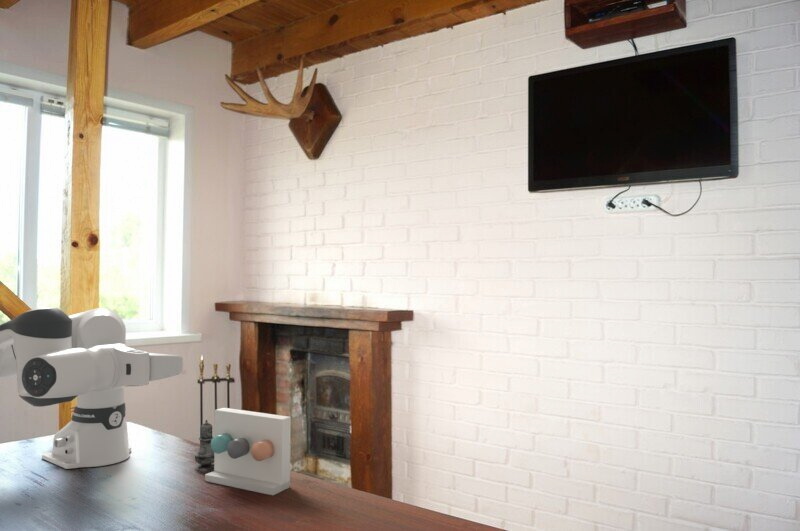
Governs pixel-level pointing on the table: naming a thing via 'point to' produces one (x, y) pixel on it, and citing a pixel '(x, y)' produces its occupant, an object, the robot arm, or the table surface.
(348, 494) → the table surface
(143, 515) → the table surface
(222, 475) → the console
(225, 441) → the teal button
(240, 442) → the charcoal button
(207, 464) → the grey stone chess piece
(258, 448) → the terracotta button
